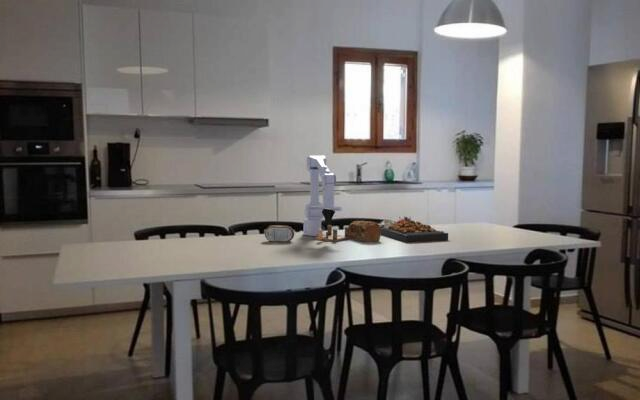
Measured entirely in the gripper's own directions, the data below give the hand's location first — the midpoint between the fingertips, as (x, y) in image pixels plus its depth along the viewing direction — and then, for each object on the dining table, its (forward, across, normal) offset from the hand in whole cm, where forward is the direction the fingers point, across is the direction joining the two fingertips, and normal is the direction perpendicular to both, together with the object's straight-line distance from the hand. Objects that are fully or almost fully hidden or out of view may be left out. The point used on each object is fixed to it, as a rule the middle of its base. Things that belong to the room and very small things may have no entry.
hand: (328, 224), depth 277 cm
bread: (+10, +8, +21) cm, 25 cm away
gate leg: (+8, -5, +2) cm, 10 cm away
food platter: (+10, +20, +47) cm, 52 cm away
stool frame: (+9, -6, +12) cm, 16 cm away
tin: (+10, -22, -12) cm, 27 cm away
